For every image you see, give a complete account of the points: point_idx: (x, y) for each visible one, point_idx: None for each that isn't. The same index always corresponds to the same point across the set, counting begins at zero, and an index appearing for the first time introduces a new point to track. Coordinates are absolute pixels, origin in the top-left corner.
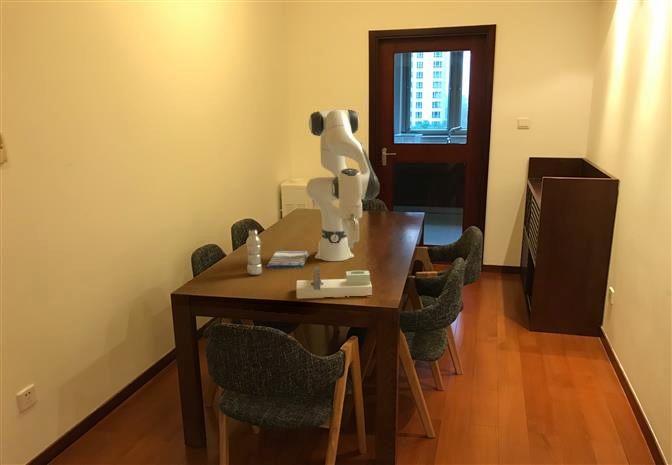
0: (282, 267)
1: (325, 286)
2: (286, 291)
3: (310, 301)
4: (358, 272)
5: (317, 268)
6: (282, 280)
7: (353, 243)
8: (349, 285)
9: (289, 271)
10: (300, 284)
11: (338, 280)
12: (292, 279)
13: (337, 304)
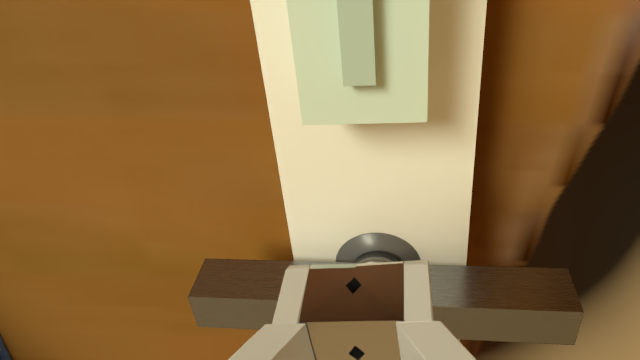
0: (3, 353)
1: (438, 223)
2: None
3: (511, 255)
4: (374, 6)
5: (244, 311)
6: (181, 352)
7: (448, 332)
8: (437, 59)
9: (40, 327)
10: None
11: (304, 139)
12: (157, 319)
13: (609, 116)
